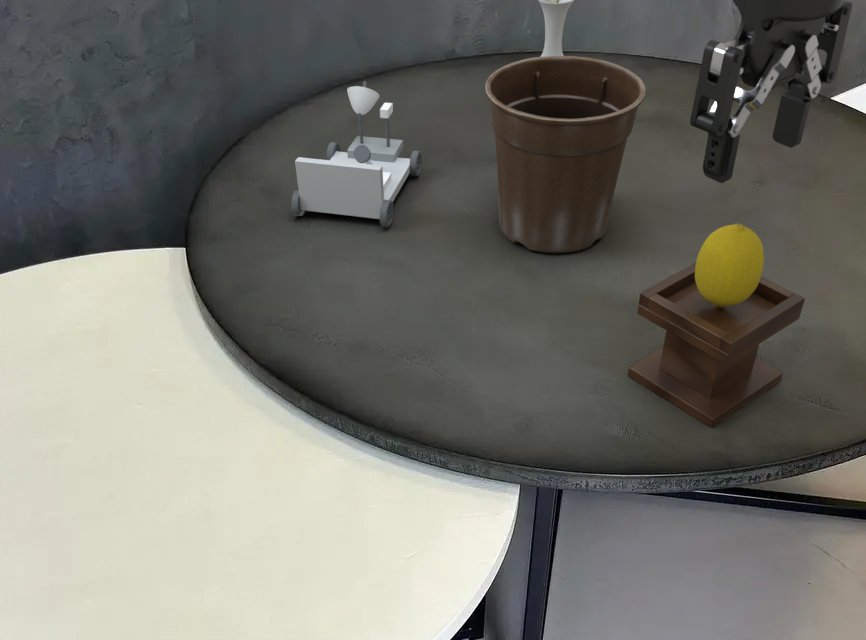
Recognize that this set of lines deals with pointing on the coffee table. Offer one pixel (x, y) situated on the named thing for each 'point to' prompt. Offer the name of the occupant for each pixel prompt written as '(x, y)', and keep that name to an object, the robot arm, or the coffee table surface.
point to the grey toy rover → (356, 171)
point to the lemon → (729, 265)
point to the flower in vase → (554, 25)
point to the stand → (712, 345)
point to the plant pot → (560, 147)
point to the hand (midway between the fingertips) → (752, 160)
